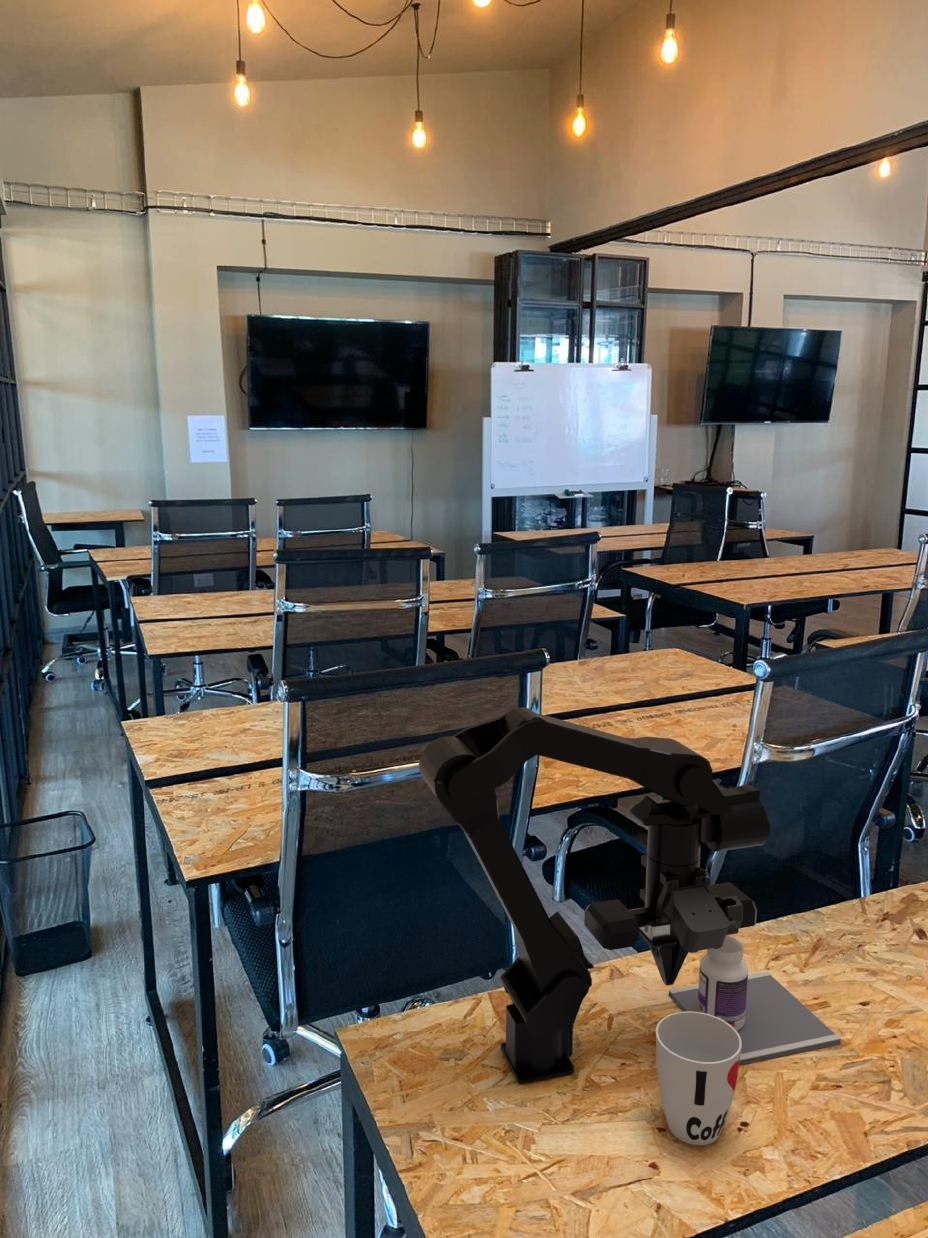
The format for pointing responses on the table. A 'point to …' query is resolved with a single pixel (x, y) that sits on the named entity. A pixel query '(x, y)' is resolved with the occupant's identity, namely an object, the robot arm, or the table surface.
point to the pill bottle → (724, 983)
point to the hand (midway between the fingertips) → (667, 983)
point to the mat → (769, 1020)
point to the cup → (696, 1074)
